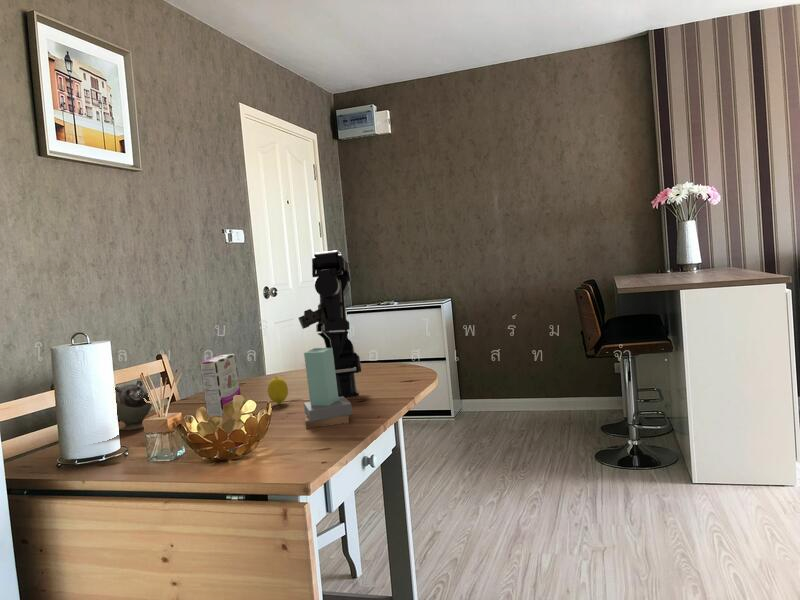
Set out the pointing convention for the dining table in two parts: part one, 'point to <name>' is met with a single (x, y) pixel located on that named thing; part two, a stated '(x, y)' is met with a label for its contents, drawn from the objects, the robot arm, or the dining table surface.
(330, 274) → the robot arm
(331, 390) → the pillar
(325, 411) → the top slab
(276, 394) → the lemon
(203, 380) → the candy bar box
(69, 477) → the dining table surface
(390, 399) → the dining table surface
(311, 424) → the bottom slab
